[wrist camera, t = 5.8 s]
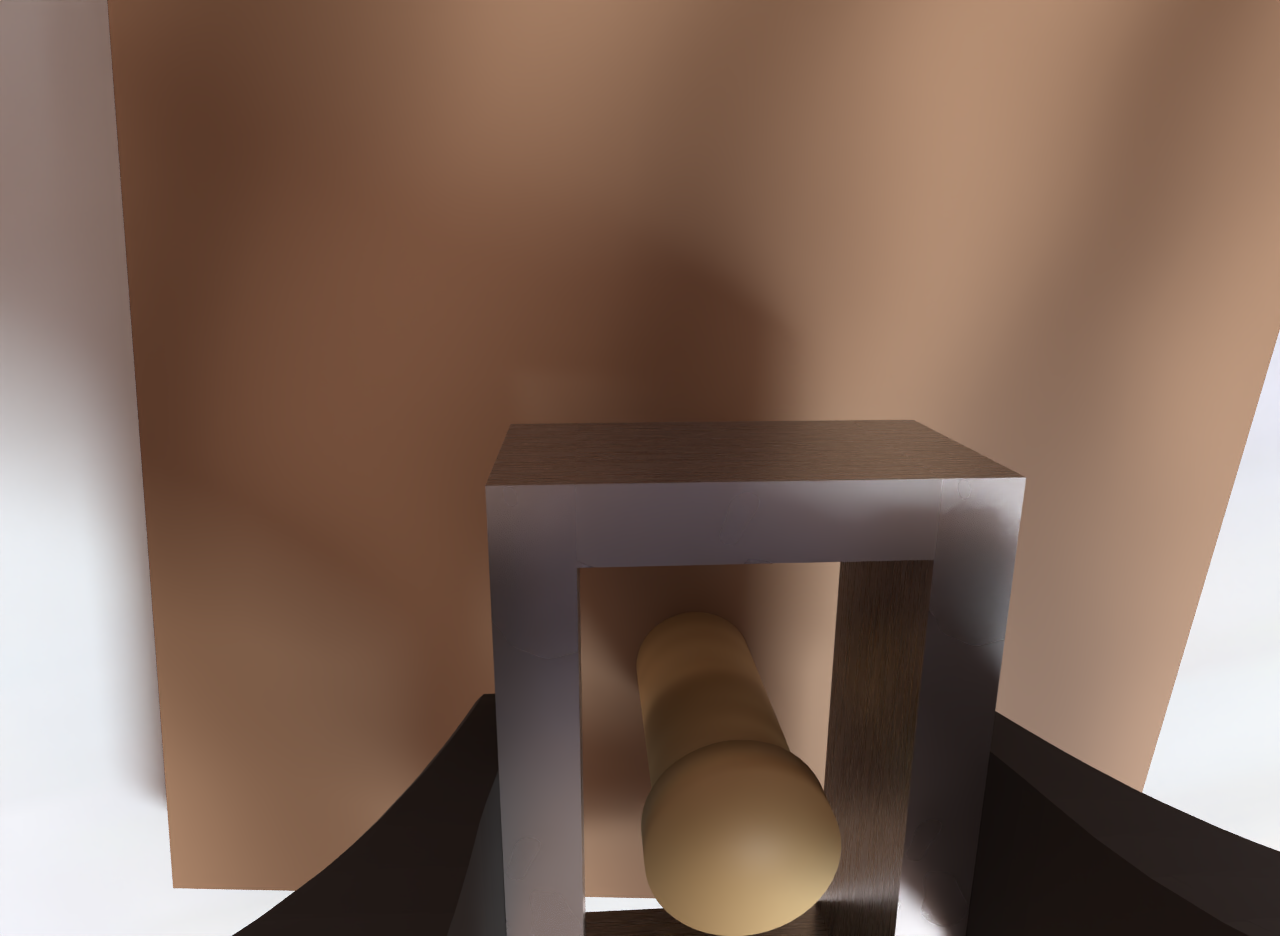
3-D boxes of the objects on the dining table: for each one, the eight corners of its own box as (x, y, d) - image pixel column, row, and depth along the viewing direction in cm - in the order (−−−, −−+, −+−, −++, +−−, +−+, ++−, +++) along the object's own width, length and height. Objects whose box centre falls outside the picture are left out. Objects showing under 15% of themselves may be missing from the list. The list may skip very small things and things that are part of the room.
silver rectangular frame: (913, 419, 11) (1025, 477, 8) (864, 941, 14) (940, 1126, 11) (510, 424, 11) (484, 486, 8) (531, 959, 13) (517, 1156, 10)
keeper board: (1454, -566, 11) (2369, -1410, 6) (1065, 853, 18) (1301, 1155, 12) (112, -841, 10) (-581, -2439, 4) (209, 830, 16) (-3, 1166, 10)
